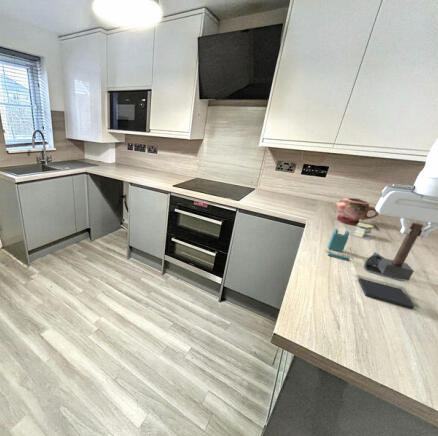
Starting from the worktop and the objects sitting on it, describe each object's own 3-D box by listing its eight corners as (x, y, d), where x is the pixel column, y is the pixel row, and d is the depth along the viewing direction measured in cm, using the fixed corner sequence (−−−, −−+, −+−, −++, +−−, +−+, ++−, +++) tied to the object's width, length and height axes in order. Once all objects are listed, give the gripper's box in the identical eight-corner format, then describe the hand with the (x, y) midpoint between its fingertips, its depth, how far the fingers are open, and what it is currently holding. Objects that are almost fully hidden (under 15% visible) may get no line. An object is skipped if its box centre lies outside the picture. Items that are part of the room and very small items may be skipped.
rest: (343, 250, 104) (351, 231, 101) (348, 260, 96) (357, 240, 93) (324, 246, 108) (331, 227, 104) (328, 255, 99) (335, 236, 96)
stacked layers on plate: (368, 240, 116) (373, 230, 114) (346, 233, 123) (350, 223, 121) (375, 236, 121) (379, 226, 119) (353, 230, 128) (357, 220, 126)
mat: (399, 291, 78) (400, 288, 78) (412, 309, 70) (414, 306, 70) (357, 280, 83) (358, 277, 83) (365, 295, 75) (366, 293, 75)
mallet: (403, 241, 78) (434, 222, 66) (401, 283, 73) (434, 270, 61) (379, 237, 81) (405, 218, 69) (376, 276, 76) (403, 263, 64)
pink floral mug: (372, 225, 137) (382, 202, 132) (372, 230, 129) (383, 206, 124) (331, 215, 149) (338, 194, 144) (328, 220, 141) (336, 198, 136)
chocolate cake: (402, 274, 89) (380, 246, 92) (410, 278, 83) (387, 248, 86) (372, 283, 93) (353, 256, 96) (378, 288, 87) (357, 258, 90)
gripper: (390, 184, 66) (370, 229, 71) (502, 198, 57) (470, 248, 62) (382, 180, 71) (364, 223, 76) (484, 193, 62) (456, 239, 67)
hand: (412, 234), depth 69 cm, fingers closed on mallet, 2 cm apart
